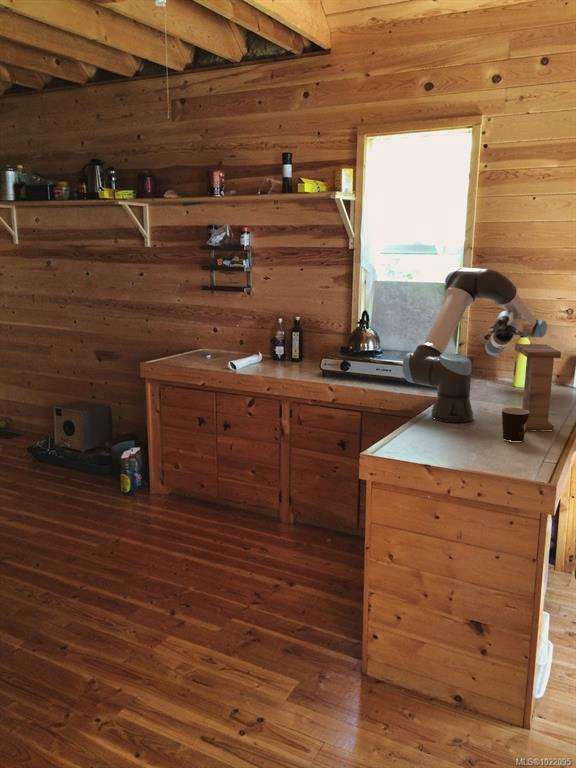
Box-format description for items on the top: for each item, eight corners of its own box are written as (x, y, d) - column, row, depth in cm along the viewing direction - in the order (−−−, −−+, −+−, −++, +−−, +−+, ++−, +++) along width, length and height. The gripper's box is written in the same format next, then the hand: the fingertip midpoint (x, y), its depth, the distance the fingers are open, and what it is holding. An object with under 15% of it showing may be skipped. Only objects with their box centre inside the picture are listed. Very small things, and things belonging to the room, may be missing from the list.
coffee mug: (513, 445, 213) (515, 415, 210) (494, 438, 220) (496, 409, 218) (539, 440, 218) (541, 411, 216) (519, 433, 225) (521, 405, 223)
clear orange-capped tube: (531, 333, 240) (533, 324, 239) (521, 332, 240) (523, 323, 240) (515, 323, 265) (516, 315, 265) (506, 322, 266) (507, 315, 265)
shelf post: (553, 431, 228) (561, 352, 221) (521, 430, 228) (527, 351, 222) (539, 418, 243) (546, 344, 237) (509, 418, 244) (515, 344, 238)
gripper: (521, 345, 277) (539, 324, 254) (482, 344, 278) (496, 323, 255) (520, 328, 279) (537, 306, 257) (482, 328, 280) (495, 306, 258)
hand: (517, 315), depth 256 cm, fingers closed on clear orange-capped tube, 3 cm apart
